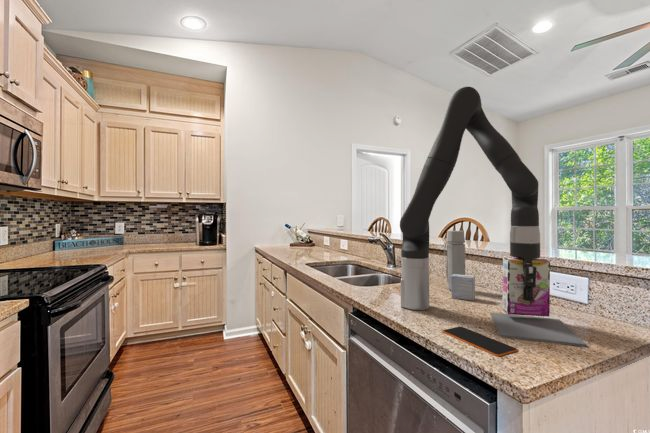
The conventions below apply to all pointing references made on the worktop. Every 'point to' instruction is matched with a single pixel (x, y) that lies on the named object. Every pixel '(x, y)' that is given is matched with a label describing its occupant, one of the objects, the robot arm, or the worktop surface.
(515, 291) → the candy bar box
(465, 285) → the medicine box
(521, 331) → the rubber mat
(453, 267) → the water bottle
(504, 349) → the smartphone
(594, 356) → the worktop surface
